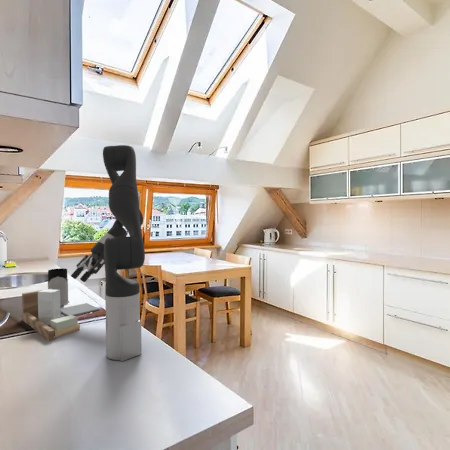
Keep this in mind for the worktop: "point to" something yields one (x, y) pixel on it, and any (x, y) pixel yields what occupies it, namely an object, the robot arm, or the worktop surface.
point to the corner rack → (34, 315)
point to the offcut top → (64, 322)
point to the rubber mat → (78, 309)
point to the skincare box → (48, 305)
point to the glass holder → (59, 283)
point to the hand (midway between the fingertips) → (77, 279)
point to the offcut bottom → (66, 330)
